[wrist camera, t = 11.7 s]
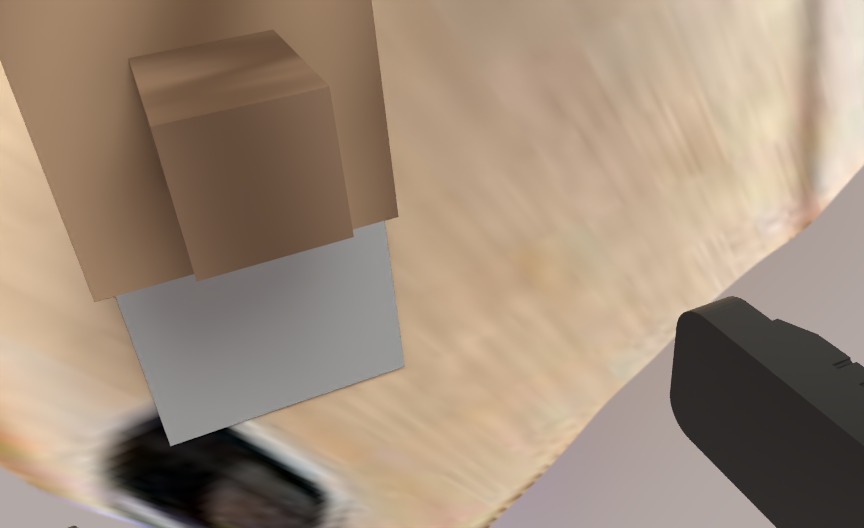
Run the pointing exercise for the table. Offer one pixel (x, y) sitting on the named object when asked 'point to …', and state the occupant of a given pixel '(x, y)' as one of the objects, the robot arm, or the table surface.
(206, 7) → the lid
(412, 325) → the table surface
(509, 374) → the table surface
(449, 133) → the table surface
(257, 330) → the mat
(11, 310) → the table surface
